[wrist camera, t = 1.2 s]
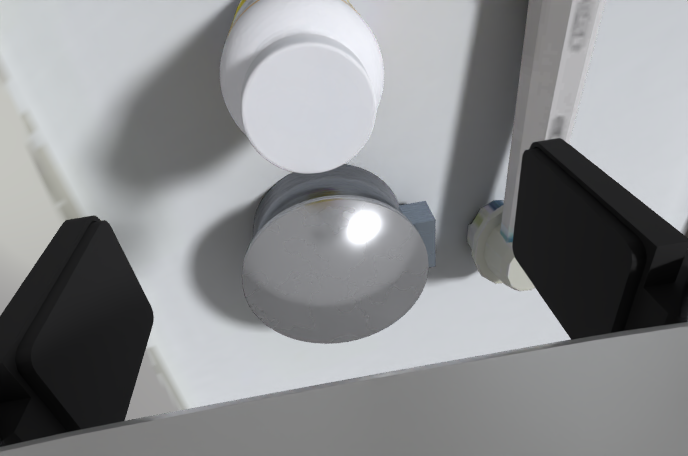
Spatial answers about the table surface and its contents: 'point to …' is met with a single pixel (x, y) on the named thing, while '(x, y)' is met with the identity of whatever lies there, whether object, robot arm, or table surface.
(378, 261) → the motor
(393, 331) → the table surface
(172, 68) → the table surface
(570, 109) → the light grey long piece
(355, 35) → the supplement bottle
